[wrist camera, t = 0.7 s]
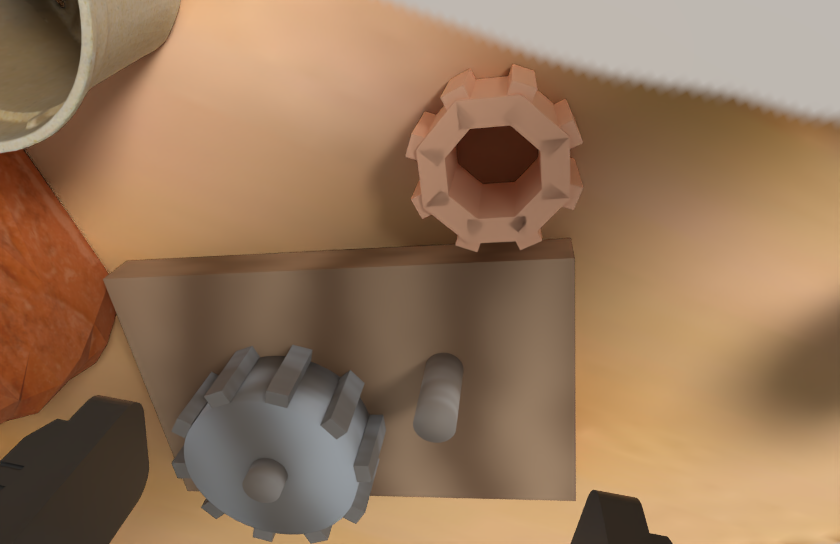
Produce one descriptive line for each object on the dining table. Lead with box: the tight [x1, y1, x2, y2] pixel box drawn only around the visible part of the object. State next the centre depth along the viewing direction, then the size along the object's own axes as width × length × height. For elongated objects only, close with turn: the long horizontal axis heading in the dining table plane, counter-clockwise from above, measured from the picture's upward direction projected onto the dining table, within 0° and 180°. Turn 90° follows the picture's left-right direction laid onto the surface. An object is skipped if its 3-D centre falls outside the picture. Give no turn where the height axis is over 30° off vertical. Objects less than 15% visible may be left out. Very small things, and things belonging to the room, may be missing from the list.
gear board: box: [103, 238, 576, 543], centre depth 29 cm, size 22×14×6 cm, turn 97°
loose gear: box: [405, 64, 583, 252], centre depth 23 cm, size 6×6×4 cm
